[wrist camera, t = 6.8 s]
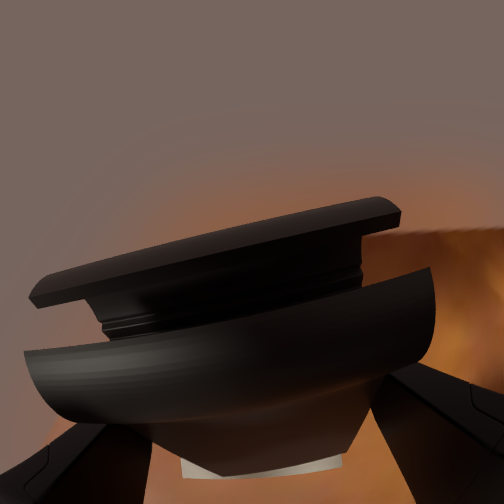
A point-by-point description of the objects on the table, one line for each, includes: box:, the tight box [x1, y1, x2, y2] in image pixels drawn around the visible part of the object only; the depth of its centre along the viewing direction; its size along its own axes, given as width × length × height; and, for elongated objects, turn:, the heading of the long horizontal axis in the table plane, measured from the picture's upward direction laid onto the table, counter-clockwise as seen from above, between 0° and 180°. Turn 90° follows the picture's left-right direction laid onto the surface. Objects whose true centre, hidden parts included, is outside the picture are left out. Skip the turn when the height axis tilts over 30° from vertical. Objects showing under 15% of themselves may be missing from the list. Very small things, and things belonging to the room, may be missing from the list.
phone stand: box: [24, 197, 436, 477], centre depth 9 cm, size 9×6×12 cm, turn 11°
